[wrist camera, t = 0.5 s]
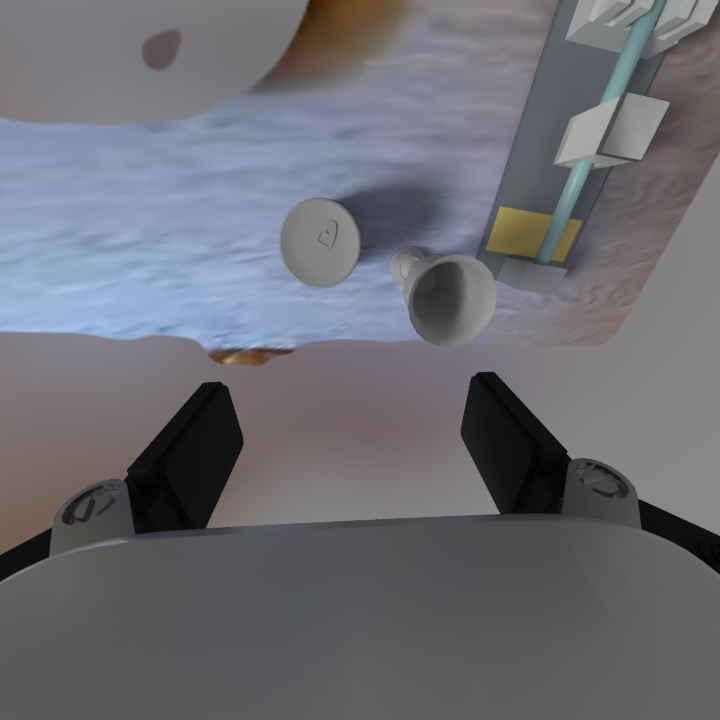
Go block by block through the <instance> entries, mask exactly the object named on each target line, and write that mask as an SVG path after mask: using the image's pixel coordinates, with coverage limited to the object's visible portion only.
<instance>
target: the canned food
mask: <svg viewBox="0 0 720 720" xmlns="http://www.w3.org/2000/svg"><path fill="white" fill-rule="evenodd" d="M279 251H280V255H281V259H282V261H283V263H284V266H285V267H286V269H287V270H288V272H289V273H290V274H291V275H292V276H293V277H294V278H295V279H296V280H297V281H299V282H300V283H302V284H304V285H306V286H309V287H313V288H329V287H332V286H335V285H337V284H339V283H341V282H342V281H344V280H345V279H346V278H347V277H348V276H349V275H350V274H351V273H352V271H353V270H354V268H355V266H356V264H357V262H358V260H359V256H360V252H361V237H360V232H359V228H358V225H357V223H356V221H355V219H354V217H353V216H352V215H351V213H350V212H349V211H348V210H347V209H346V208H345V207H344V206H343V205H341V204H339V203H338V202H336V201H334V200H331V199H327V198H312V199H307V200H305V201H303V202H301V203H299V204H298V205H296V206H295V207H294V208H292V210H291V211H290V212H289V213H288V214H287V216H286V217H285V219H284V221H283V223H282V226H281V229H280V233H279Z"/></svg>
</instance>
